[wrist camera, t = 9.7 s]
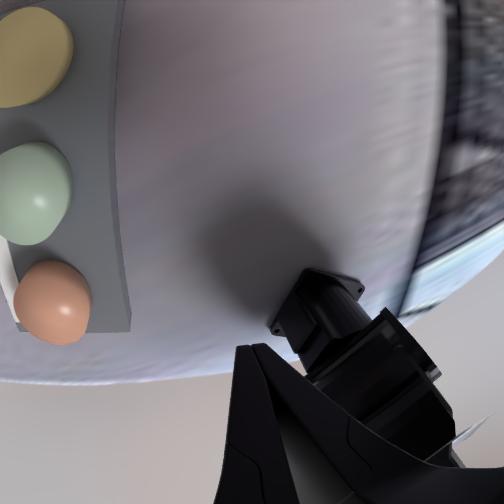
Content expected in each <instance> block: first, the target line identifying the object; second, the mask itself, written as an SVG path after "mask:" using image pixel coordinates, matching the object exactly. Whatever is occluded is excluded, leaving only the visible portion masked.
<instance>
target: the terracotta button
mask: <svg viewBox="0 0 504 504" xmlns="http://www.w3.org/2000/svg"><path fill="white" fill-rule="evenodd" d="M13 306H14V310H15V313H16V316H17V318H18V319H19V321H20V323H21V324H22V325H23V326H24V328H25V329H26V330H27V331H28V332H30V333H31V334H32V335H33V336H35V337H37V338H38V339H40V340H42V341H45V342H47V343H51V344H56V345H66V344H71V343H73V342H76V341H77V340H79V339H80V338H81V337H82V336H83V335H84V333H85V331H86V328H87V324H88V320H89V316H90V311H91V307H92V293H91V290H90V287H89V285H88V283H87V282H86V280H85V279H84V278H83V276H82V275H81V274H80V273H79V272H77V271H76V270H75V269H74V268H72V267H71V266H69V265H67V264H65V263H62V262H59V261H54V260H44V261H40V262H37V263H35V264H34V265H32V266H31V267H30V268H29V269H28V271H27V272H26V274H25V275H24V277H23V279H22V281H21V282H20V284H19V286H18V287H17V289H16V291H15V293H14V298H13Z"/></svg>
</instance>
